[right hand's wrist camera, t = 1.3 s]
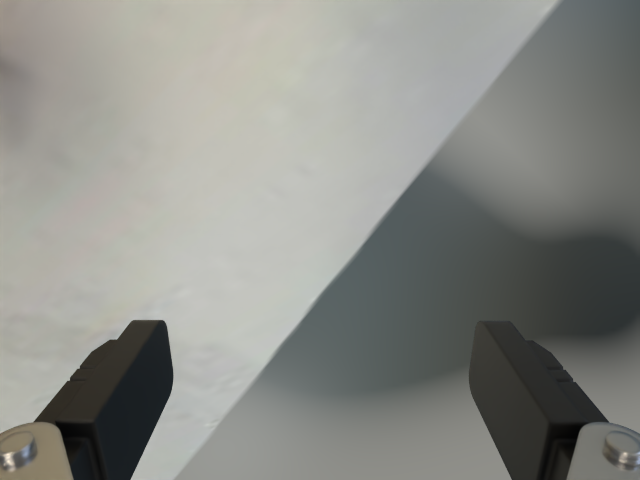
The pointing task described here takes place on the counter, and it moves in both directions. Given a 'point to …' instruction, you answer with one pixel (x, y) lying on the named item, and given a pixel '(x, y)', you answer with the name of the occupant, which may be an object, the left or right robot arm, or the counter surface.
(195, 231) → the counter surface
